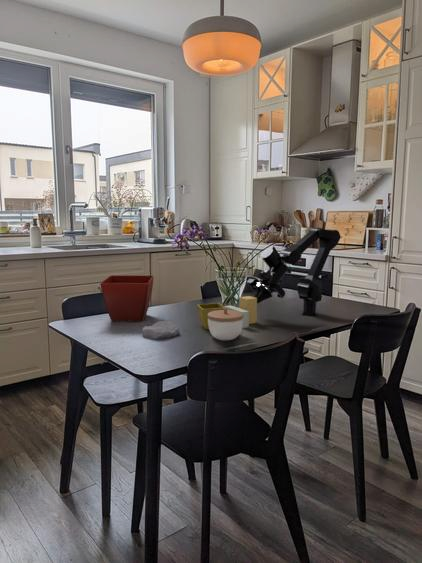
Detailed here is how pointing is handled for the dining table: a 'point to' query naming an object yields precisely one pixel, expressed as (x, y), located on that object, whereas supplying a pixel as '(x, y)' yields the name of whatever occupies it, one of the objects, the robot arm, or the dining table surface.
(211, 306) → the flower pot
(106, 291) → the plant pot
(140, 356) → the dining table surface
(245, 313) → the wall
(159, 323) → the stone block
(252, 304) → the block
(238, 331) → the lidded bowl
